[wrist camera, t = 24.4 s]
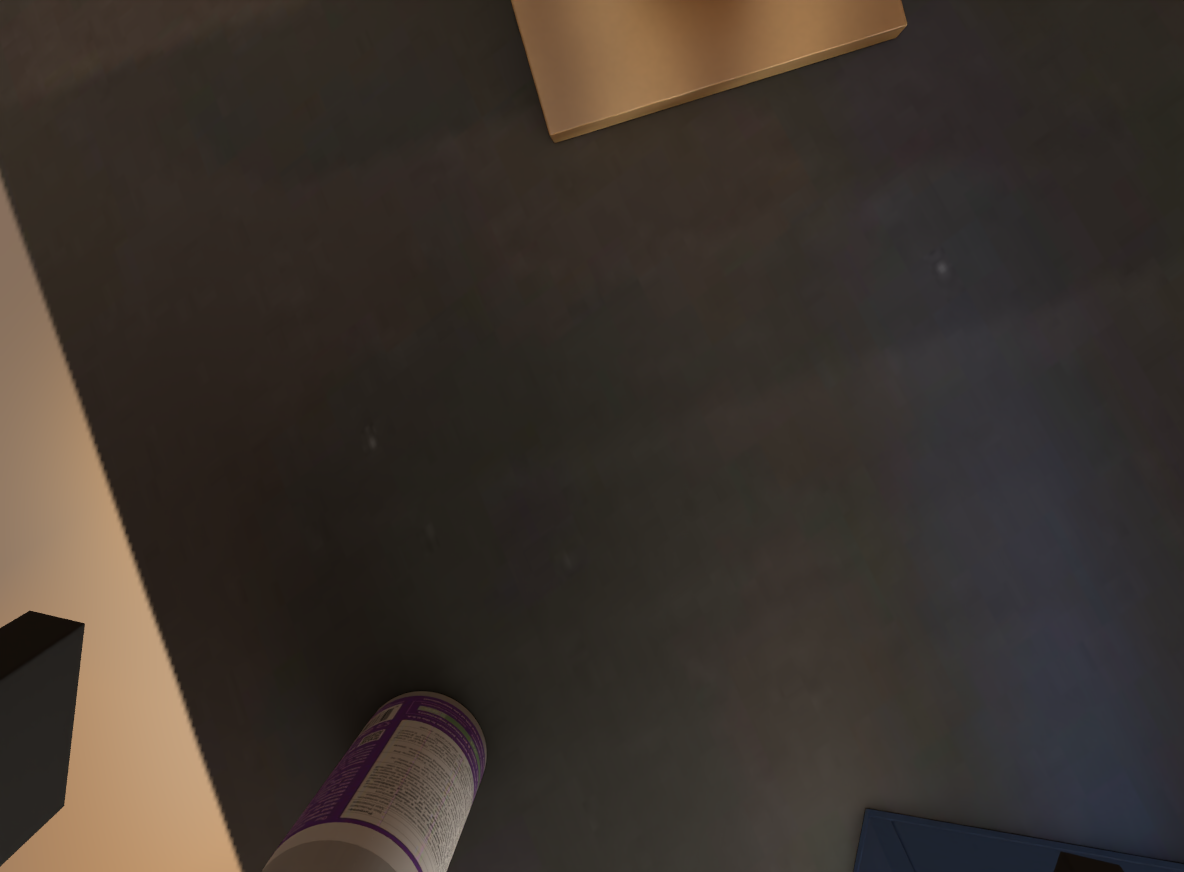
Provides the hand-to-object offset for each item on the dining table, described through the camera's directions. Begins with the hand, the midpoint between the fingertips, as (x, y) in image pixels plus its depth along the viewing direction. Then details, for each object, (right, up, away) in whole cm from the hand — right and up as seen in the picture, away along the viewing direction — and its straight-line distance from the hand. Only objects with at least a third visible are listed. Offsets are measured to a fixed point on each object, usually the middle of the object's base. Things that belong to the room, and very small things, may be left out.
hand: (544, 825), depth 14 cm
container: (-6, -7, +25) cm, 27 cm away
